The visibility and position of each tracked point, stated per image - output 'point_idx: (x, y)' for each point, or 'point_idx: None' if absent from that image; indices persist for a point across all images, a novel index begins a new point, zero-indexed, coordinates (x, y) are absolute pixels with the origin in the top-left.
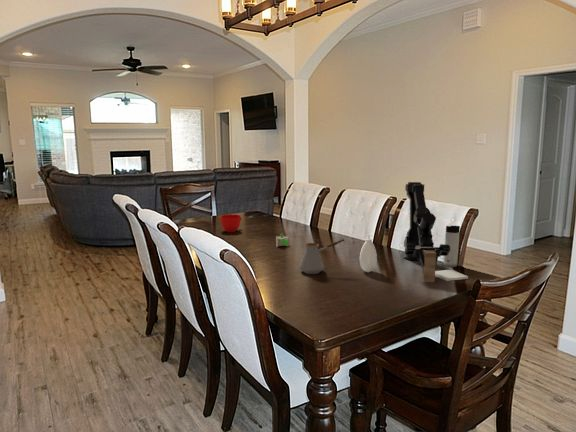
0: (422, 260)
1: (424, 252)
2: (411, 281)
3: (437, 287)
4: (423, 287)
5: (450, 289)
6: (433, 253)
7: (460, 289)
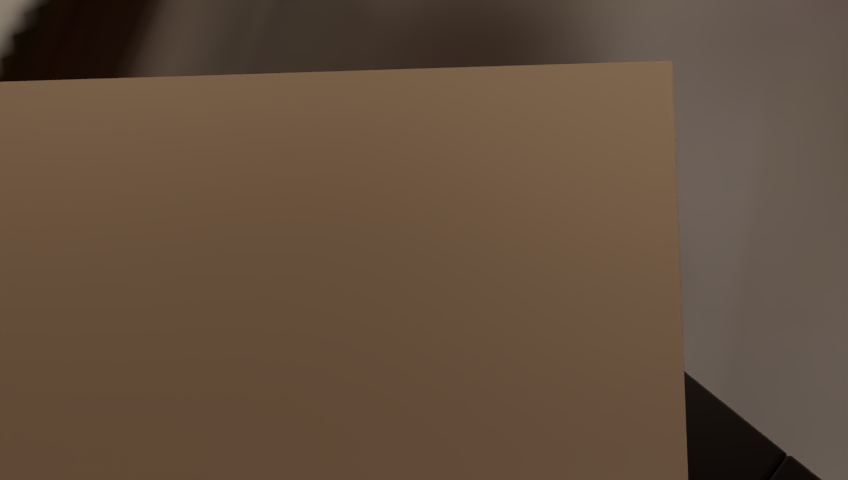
0: (685, 392)
1: (668, 443)
2: (817, 360)
3: (401, 68)
4: (638, 42)
5: (233, 4)
6: (88, 95)
7: (92, 21)
